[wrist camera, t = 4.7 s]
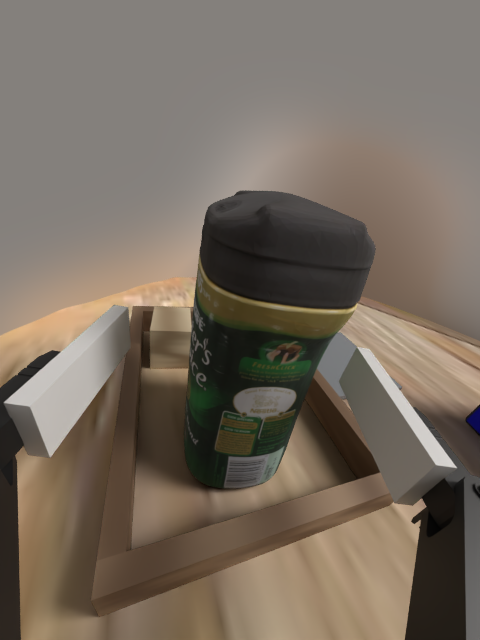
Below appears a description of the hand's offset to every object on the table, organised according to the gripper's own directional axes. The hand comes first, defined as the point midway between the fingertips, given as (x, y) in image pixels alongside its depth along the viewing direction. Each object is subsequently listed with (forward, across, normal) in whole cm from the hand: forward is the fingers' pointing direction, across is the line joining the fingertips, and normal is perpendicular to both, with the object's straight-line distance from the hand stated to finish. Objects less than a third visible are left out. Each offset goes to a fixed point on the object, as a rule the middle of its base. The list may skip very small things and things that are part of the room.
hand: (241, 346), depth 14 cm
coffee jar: (+2, +1, -11) cm, 11 cm away
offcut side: (+11, -7, -11) cm, 17 cm away
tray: (+6, 0, -10) cm, 12 cm away
